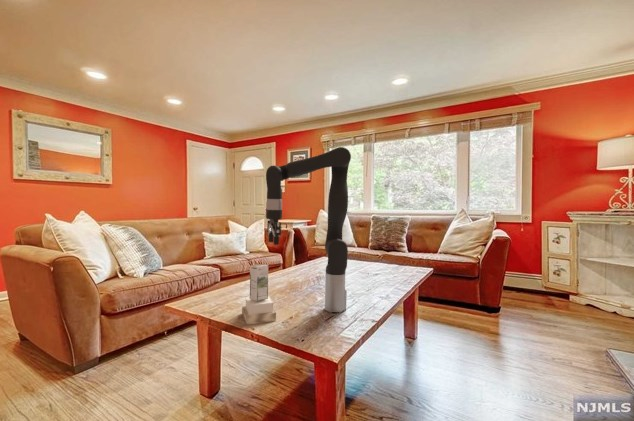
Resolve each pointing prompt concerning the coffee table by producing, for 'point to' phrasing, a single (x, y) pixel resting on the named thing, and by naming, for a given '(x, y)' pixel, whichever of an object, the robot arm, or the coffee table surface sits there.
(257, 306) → the off-white top block
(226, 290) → the coffee table surface
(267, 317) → the ash base block
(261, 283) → the syrup box
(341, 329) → the coffee table surface
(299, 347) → the coffee table surface
